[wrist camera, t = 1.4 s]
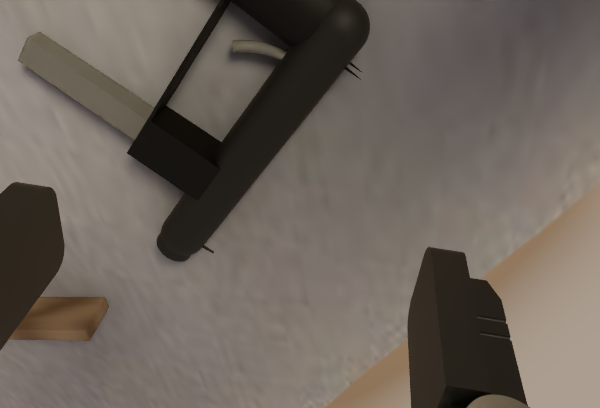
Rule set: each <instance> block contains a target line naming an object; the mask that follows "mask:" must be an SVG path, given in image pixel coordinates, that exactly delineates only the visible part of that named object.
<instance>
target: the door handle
mask: <svg viewBox="0 0 600 408" xmlns="http://www.w3.org/2000/svg"><path fill="white" fill-rule="evenodd" d="M231 1H232V2H233V3H234V4H236V5H237V6H238V7H240V8H241V9H242V10H244V11H245V12H246V13H247V14H249V15H250V16H251V17H253V18H254V19H255V20H257V21H258V22H259V23H261V24H262V25H263V26H264V27H266V28H267V29H268V30H270V31H271V32H272V33H274V34H275V35H276V36H277V37H279V38H280V39H281V40H283V41H284V42H285V43H287V44H288V45H289V46H291V47H290V48H289V50H288V51H287V52H286V51H284V50H282V49H280V48H278V47H276V46H273V45H270V44H267V43H263V42H257V41H249V40H233V41H232V51H233V53H256V54H262V55H267V56H271V57H274V58H277V59H279V60H281V61H280V62H279V64H278V65H277V66H276V68H275V69H274V70H273V72H272V73H271V75H270V76H269V77H268V79H267V80H266V82H265V83H264V84H263V86H262V87H261V89H260V90H259V91H258V93H257V94H256V95H255V97H254V98H253V100H252V101H251V102H250V104H249V105H248V107H247V108H246V109H245V111H244V112H243V114H242V115H241V116H240V118H239V119H238V120H237V122H236V123H235V125H234V126H233V127H232V129H231V130H230V132H229V133H228V134H227V136H226V137H225V139H224V140H223V141H222V142H220V141H219V140H217V139H216V138H214V137H213V136H211V135H210V134H208V133H207V132H205V131H204V130H202V129H201V128H199V127H198V126H196V125H195V124H193V123H192V122H190V121H189V120H187V119H185V118H184V117H182V116H181V115H179V114H178V113H176V112H175V111H173V110H172V109H170V108H169V107H167V106H166V105H167V103H168V101H169V100H170V98H171V97H172V95H173V93H174V92H175V90H176V89H177V87H178V85H179V84H180V82H181V80H182V79H183V77H184V76H185V74H186V72H187V71H188V69H189V68H190V66H191V64H192V63H193V61H194V60H195V58H196V56H197V55H198V53H199V52H200V50H201V48H202V47H203V45H204V44H205V42H206V40H207V39H208V37H209V36H210V34H211V32H212V31H213V29H214V27H215V26H216V24H217V23H218V21H219V19H220V18H221V16H222V15H223V13H224V11H225V10H226V8H227V7H228V5H229V3H230V2H231ZM369 30H370V22H369V17H368V15H367V12H366V11H365V9H364V8H363V6H362V5H361V4H360V3H358V2H357V1H355V0H220V2H219V3H218V5H217V7H216V8H215V10H214V12H213V13H212V15H211V17H210V18H209V20H208V21H207V23H206V25H205V26H204V28H203V30H202V31H201V33H200V35H199V36H198V38H197V39H196V41H195V43H194V44H193V46H192V48H191V49H190V51H189V53H188V54H187V56H186V57H185V59H184V61H183V62H182V64H181V66H180V67H179V69H178V71H177V72H176V74H175V75H174V77H173V79H172V80H171V82H170V84H169V85H168V87H167V89H166V90H165V92H164V93H163V95H162V97H161V98H160V100H159V102H158V103H157V105H156V107H155V108H153V107H152V106H150V105H149V104H147V103H146V102H145V101H143V100H142V99H140V98H139V97H137V96H136V95H135V94H133V93H132V92H130V91H129V90H127V89H126V88H124V87H123V86H121V85H120V84H118V83H117V82H115V81H114V80H112V79H111V78H109V77H108V76H106V75H105V74H103V73H102V72H100V71H99V70H97V69H95V68H94V67H92V66H91V65H89V64H88V63H86V62H85V61H83V60H82V59H80V58H79V57H77V56H76V55H74V54H73V53H71V52H70V51H68V50H67V49H65V48H64V47H62V46H61V45H59V44H58V43H56V42H55V41H53V40H51V39H50V38H48V37H47V36H45V35H44V34H42V33H41V32H39V33H36V34H34V35H32V36H30V37H28V38H27V40H26V42H25V45H24V47H23V49H22V52H21V54H20V56H19V59H18V61H19V62H21V63H22V64H24V65H25V66H27V67H28V68H29V69H31V70H32V71H34V72H35V73H37V74H38V75H40V76H41V77H43V78H44V79H45V80H47V81H48V82H50V83H51V84H53V85H54V86H56V87H57V88H59V89H60V90H62V91H63V92H64V93H66V94H67V95H69V96H70V97H72V98H73V99H75V100H76V101H78V102H79V103H80V104H82V105H83V106H85V107H86V108H88V109H89V110H91V111H92V112H94V113H95V114H97V115H98V116H99V117H101V118H102V119H104V120H105V121H107V122H108V123H110V124H111V125H113V126H114V127H115V128H117V129H118V130H120V131H121V132H123V133H124V134H126V135H127V136H129V137H130V138H132V139H133V140H134V142H133V144H132V145H131V147H130V149H129V150H128V152H127V153H128V154H129V155H131V156H132V157H134V158H135V159H137V160H138V161H139V162H141V163H142V164H144V165H145V166H147V167H148V168H150V169H151V170H153V171H154V172H156V173H157V174H159V175H160V176H162V177H163V178H165V179H166V180H167V181H169V182H170V183H172V184H173V185H175V186H176V187H178V188H179V189H181V190H182V191H184V192H185V194H184V195H183V197H182V198H181V200H180V201H179V202H178V204H177V205H176V207H175V208H174V209H173V211H172V212H171V214H170V215H169V216H168V218H167V219H166V220H165V222H164V224H163V226H162V230H161V233H160V234H159V236H158V238H157V246H158V248H159V250H160V251H161V252H162V254H163V255H165V256H166V257H167V258H169V259H171V260H174V261H178V262H181V261H185V260H187V259H188V258H189V257H190V256H191V255H192V254H194V253H196V252H197V251H199V250H200V249H201V248H202V247H203V248H205V249H206V250H208V251H210V252H212V253H214V251H212V250H211V249H209V248H208V247H206V246H204V244H205V243H206V242H207V240H208V239H209V238H210V237H211V235H212V234H213V233H214V232H215V230H216V229H217V228H218V227H219V225H220V224H221V223H222V222H223V220H224V219H225V218H226V217H227V215H228V214H229V213H230V211H231V210H232V209H233V208H234V206H235V205H236V204H237V203H238V201H239V200H240V199H241V198H242V196H243V195H244V194H245V193H246V191H247V190H248V189H249V188H250V186H251V185H252V184H253V183H254V181H255V180H256V179H257V178H258V176H259V175H260V174H261V173H262V171H263V170H264V169H265V168H266V166H267V165H268V164H269V163H270V161H271V160H272V159H273V158H274V156H275V155H276V154H277V153H278V151H279V150H280V149H281V148H282V146H283V145H284V144H285V143H286V141H287V140H288V139H289V138H290V136H291V135H292V134H293V133H294V131H295V130H296V129H297V128H298V126H299V125H300V124H301V123H302V121H303V120H304V119H305V118H306V116H307V115H308V114H309V113H310V111H311V110H312V109H313V108H314V106H315V105H316V104H317V103H318V101H319V100H320V99H321V98H322V96H323V95H324V94H325V93H326V91H327V90H328V89H329V88H330V86H331V85H332V84H333V83H334V81H335V80H336V79H337V78H338V76H339V75H340V74H341V73H342V71H343V70H344V69H345V70H347V71H348V72H350V73H351V74H353V75H354V76H356V75H355V74H354V73H353V72H352V71H351V70H350V69H349V68H347V67H346V66H347V65H348V64H350V65H351V66H353V67H354V68H356V69H357V70H359V69H358V68H357V67H356V66H355V65H353V64H352V63H351V62H350V61H351V60H352V59H353V58H354V56H355V55H356V54H357V53H358V51H359V50H360V49H361V48H362V46H363V45H364V44H365V42H366V40H367V38H368V35H369ZM359 71H360V70H359ZM360 72H361V71H360ZM356 77H357V78H359V77H358V76H356ZM359 79H360V78H359ZM360 80H361V79H360Z"/></svg>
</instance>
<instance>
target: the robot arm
mask: <svg viewBox="0 0 600 408" xmlns="http://www.w3.org/2000/svg"><path fill="white" fill-rule="evenodd" d="M63 256H64V239H63V233H62V227H61V221H60V215H59V209H58V202H57V197H56V193H55V191H54V190H53V189H52V188H51V187H45V186H38V185H32V184H25V183H19V182H15V183H12V184H11V185H9V186H8V187H7V188H6V189H5V190H4V191H3V192H2V193H1V194H0V350H1V349H2V347H3V346H4V345H5V343H6V342H7V341H8V339H9V338H10V337H11V335H12V334H13V332H14V331H15V330H16V328H17V327H18V326H19V324H20V323H21V321H22V320H23V319H24V317H25V316H26V315H27V313H28V312H29V310H30V309H31V308H32V306H33V305H34V304H35V302H36V301H37V300H38V298H39V297H40V295H41V294H42V293H43V291H44V290H45V289H46V287H47V286H48V284H49V283H50V282H51V280H52V279H53V278H54V276H55V275H56V273H57V272H58V270H59V268H60V266H61V264H62V260H63ZM408 348H409V369H410V388H411V408H530V407H528V405H527V402H526V398H525V394H524V390H523V386H522V382H521V378H520V374H519V370H518V366H517V362H516V358H515V354H514V350H513V345H512V342H511V341H510V333H509V330H508V325H507V324H506V317H505V313H504V309H503V305H502V301H501V299H500V298H499V296H498V295H497V294H496V293H495V291H494V290H493V289H492V287H491V286H490V284H489V283H488V282H487V281H485V280H479V279H472V278H470V277H469V271H468V266H467V261H466V256H465V254H464V253H463V252H457V251H451V250H444V249H438V248H431V247H428V248H427V249H426V251H425V254H424V257H423V261H422V264H421V268H420V271H419V275H418V278H417V282H416V285H415V289H414V292H413V296H412V299H411V303H410V308H409V315H408Z"/></svg>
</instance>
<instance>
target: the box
mask: <svg viewBox="0 0 600 408" xmlns="http://www.w3.org/2000/svg"><path fill="white" fill-rule="evenodd" d="M107 309H108V304H107V302H106V299H105V298H72V297H39V298H38V300H37V301H36V302H35V304H34V305H33V306H32V308H31V309H30V310H29V312H28V313H27V315H26V316H25V317H24V319H23V320H22V321H21V323H20V324H19V326H18V327H17V328H16V330H15V331H14V332H13V334H12V335H11V337H10V338H9V339H18V340H84V341H90V339H91V337H92V336H93V334H94V332H95V330H96V329H97V327H98V325H99V323H100V322H101V320H102V318H103V316H104V314H105V313H106V311H107Z"/></svg>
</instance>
